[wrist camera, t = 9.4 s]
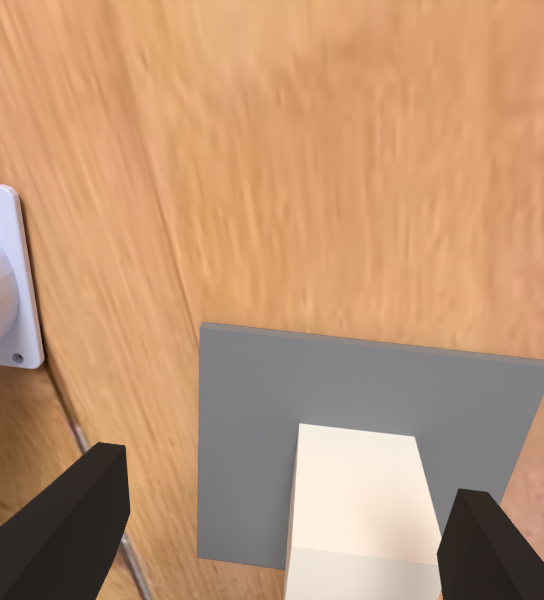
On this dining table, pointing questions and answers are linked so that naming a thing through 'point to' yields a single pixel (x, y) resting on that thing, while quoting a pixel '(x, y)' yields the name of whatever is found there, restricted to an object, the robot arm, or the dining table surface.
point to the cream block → (360, 519)
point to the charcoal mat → (344, 423)
